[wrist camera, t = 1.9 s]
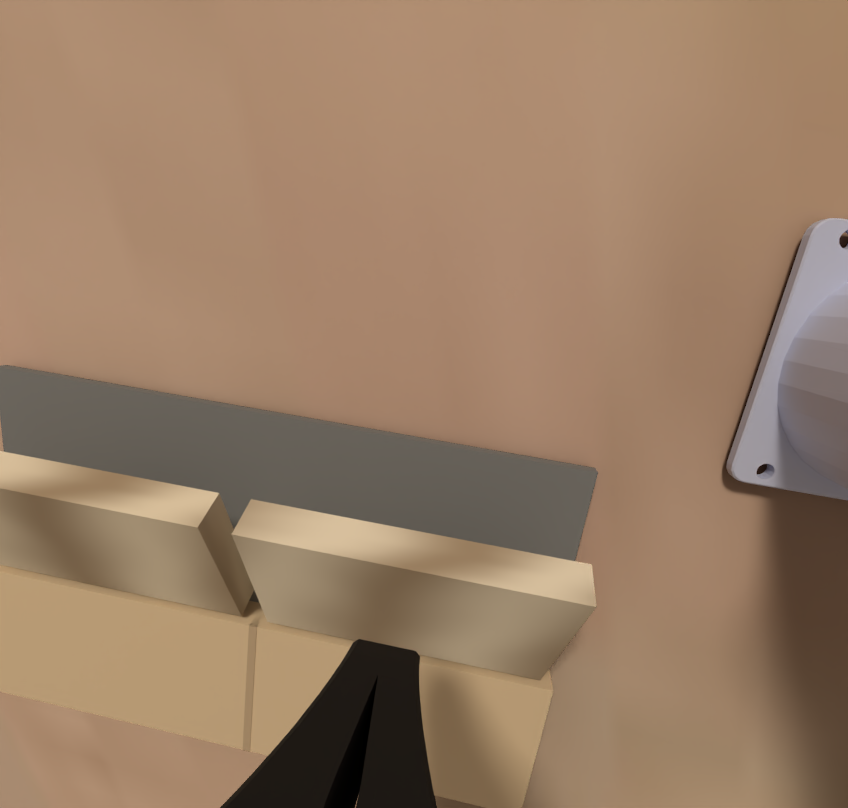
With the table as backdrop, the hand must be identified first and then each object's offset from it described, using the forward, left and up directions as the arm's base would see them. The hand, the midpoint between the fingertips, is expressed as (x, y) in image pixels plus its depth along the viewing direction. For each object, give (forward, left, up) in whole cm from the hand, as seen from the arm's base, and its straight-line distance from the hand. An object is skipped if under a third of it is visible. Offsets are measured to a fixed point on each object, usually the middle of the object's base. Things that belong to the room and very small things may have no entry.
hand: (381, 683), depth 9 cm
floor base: (+5, +4, -7) cm, 10 cm away
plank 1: (+11, +1, -5) cm, 12 cm away
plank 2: (0, +1, -5) cm, 6 cm away
